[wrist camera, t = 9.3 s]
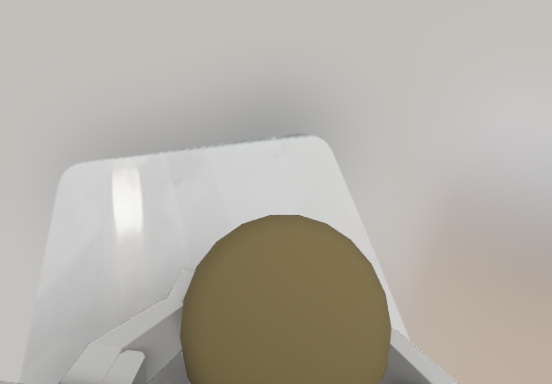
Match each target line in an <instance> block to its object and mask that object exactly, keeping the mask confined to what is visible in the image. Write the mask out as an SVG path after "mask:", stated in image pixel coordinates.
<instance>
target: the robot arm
mask: <svg viewBox="0 0 552 384" xmlns="http://www.w3.org/2000/svg"><path fill="white" fill-rule="evenodd" d="M195 270H196V269H190V268H184V269H183V270H182V271H181V273H180V275H179V277H178V278H177V280H176V282H175V284H174V286H173V288H172V289H171V291H170V293H169V295H168V297H167V298H166V300H160V301H158V302H157V303H155V304H153V305H152V306H150V307H149V308H147V309H145V310H144V311H142V312H140V313H139V314H137V315H135V316H134V317H132V318H130V319H129V320H127V321H125V322H124V323H122V324H121V325H119V326H117V327H116V328H114V329H112V330H111V331H109V332H107V333H106V334H104V335H102V336H101V337H99V338H97V339H96V340H94V341H93V342H91V343H89V344H88V346H87V347H86V348H85V350H84V351H83V352H82V354H81V355H80V356H79V358H78V359H77V360H76V362H75V363H74V364H73V366H72V367H71V368H70V370H69V371H68V372H67V374H66V375H65V376H64V377H63V379H62V380H61V381H60V383H59V384H147V383H149V382H150V381H151V380H152V379H153V378H154V377H155V376H156V375H157V374H158V373H159V372H160V371H161V370H162V369H163V368H164V367H165V366H166V365H167V364H168V363H169V362H170V361H171V360H172V359H173V358H174V357H175V356H176V355H177V354H178V353H179V352H180V351H181V350H182V346H181V341H180V331H181V321H182V311H183V300H184V297H185V295H186V292H187V290H188V287H189V285H190V282H191V280H192V277H193V275H194V272H195ZM391 329H392V330H391V339H390V349H389V358H388V367H387V369H386V371H385V374H384V376H383V379H382V381H381V383H380V384H458V383H457V382H456V381H455V380H454V379H453V378H452V377H450V376H449V375H448V374H447V373H446V372H445V371H443V370H442V369H441V368H440V367H439V366H438V365H437V364H435V363H434V362H433V361H432V360H431V359H430V358H429V357H428V356H426V355H425V354H424V353H423V352H422V351H421V350H420V349H418V348H417V347H416V346H415V345H414V344H413V343H412V342H410V341H409V340H408V339H407V338H406V337H405V336H404V335H402V334H401V333H400V332H399V331H398V330H394V329H393V328H392V326H391ZM0 384H22V383H13V382H5V381H0Z"/></svg>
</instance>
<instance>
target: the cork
mask: <svg viewBox="0 0 552 384" xmlns="http://www.w3.org/2000/svg"><path fill="white" fill-rule="evenodd" d="M391 330H392V329H391V323H390V317H389V312H388V306H387V300H386V294H385V292H384V290H383V288H382V286H381V284H380V281H379V279H378V277H377V275H376V273H375V271H374V268H373V266H372V264H371V263H370V262H369V261H368V259H367V258H366V257H365V256H364V255H363V254H362V252H361V251H360V250H359V249H358V248H357V246H356V245H355V244H354V243H353V242H352V241H351V240H350V239H349V238H347V237H346V236H344V235H343V234H341V233H340V232H338V231H337V230H335V229H334V228H332V227H331V226H329V225H328V224H326V223H323V222H320V221H316V220H313V219H310V218H307V217H303V216H300V215H269V216H266V217H263V218H260V219H256V220H253V221H250V222H247V223H244V224H242V225H240V226H239V227H237V228H236V229H234V230H233V231H232V232H230V233H229V234H227V235H226V236H224V237H223V238H222V239H220V240H219V241H217V242H216V243H215V245H214V246H213V247H212V248H211V250H210V251H209V252H208V253H207V255H206V256H205V257H204V258H203V260H202V261H201V262H200V264H199V265H198V266H197V267H196V270H195V272H194V275H193V277H192V280H191V282H190V285H189V287H188V290H187V292H186V295H185V297H184V300H183V311H182V321H181V331H180V341H181V346H182V351H183V356H184V361H185V366H186V371H187V376H188V378H189V380H190V382H191V384H380V383H381V381H382V379H383V376H384V374H385V371H386V369H387V367H388V358H389V349H390V339H391Z"/></svg>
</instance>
